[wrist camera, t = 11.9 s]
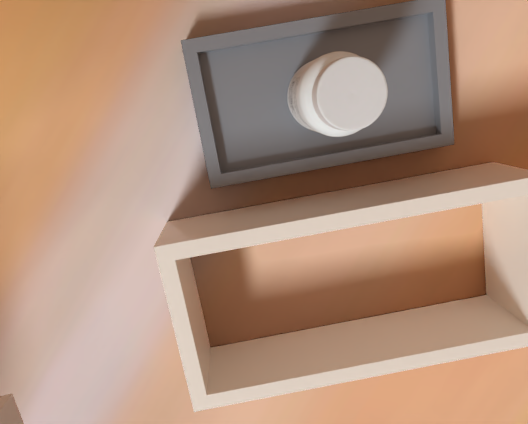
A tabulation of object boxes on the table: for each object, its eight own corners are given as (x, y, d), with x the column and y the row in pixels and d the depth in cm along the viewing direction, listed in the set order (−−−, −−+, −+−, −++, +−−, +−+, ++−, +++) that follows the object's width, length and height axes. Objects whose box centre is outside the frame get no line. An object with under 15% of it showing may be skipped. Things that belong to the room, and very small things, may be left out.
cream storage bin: (200, 362, 33) (193, 411, 28) (167, 221, 30) (153, 247, 25) (499, 304, 34) (549, 342, 28) (493, 161, 31) (548, 174, 26)
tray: (211, 184, 30) (210, 188, 28) (183, 43, 28) (180, 40, 26) (443, 142, 30) (454, 144, 29) (433, 1, 28) (444, -5, 27)
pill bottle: (317, 145, 29) (347, 160, 22) (272, 93, 28) (287, 90, 21) (368, 98, 29) (417, 97, 21) (324, 44, 28) (359, 23, 20)
